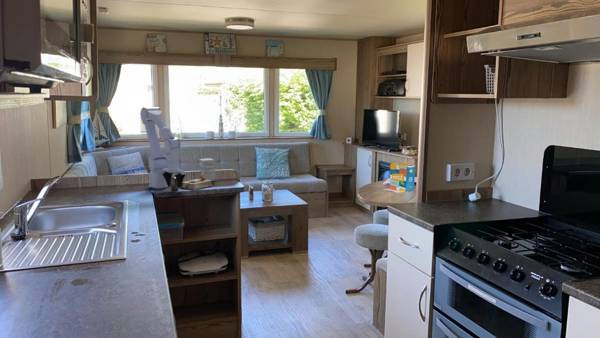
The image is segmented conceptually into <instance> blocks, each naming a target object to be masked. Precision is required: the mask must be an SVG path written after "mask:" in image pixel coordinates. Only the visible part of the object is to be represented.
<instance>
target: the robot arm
mask: <svg viewBox="0 0 600 338" xmlns="http://www.w3.org/2000/svg"><path fill="white" fill-rule="evenodd" d="M139 114H140V118H141V122H142V124H143V125H144V129H145V132H146V136H147V140H148V143H149V149H150V152H151V154H150V156H149V157H148V158H147V161H148V169H149V170H150V172H149V173H148V184H149V185H148V188H153V189H163V188H168V187H171V179H170V178H171V177H173V174H174V177H176V180H177V186H178V189H179V188H182V182H184V179H185V177H186V170H184V169H180V161H179V149H180V148H181V141H180V139H179V138H178V137H176V136H175V135H174V133H173V132H172V130H171V128H170V127H167V126H166V124H165V121H164V120H163V111H162V108H161V107H160V106H154V107H147V106H146V107H144V106H143V107H142V108H141V109H140V113H139ZM156 126H157V128H158V129H159V130H160V131H159V135H160V136H161V138H162V140H163V142H164V144H163V145H164V149H165V153H166V154H165V153H163V152H162V149H161V146H160V142H159V138H158V133H157V129H156Z"/></svg>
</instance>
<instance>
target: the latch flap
mask: <svg viewBox="0 0 600 338" xmlns="http://www.w3.org/2000/svg"><path fill="white" fill-rule="evenodd" d="M196 176H197V177H198V179H202V180H206V179H205V178H204V177H203V176H202V175H200V174H197V175H196Z"/></svg>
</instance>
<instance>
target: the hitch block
mask: <svg viewBox="0 0 600 338" xmlns="http://www.w3.org/2000/svg"><path fill="white" fill-rule="evenodd" d="M212 185H213V184H212V181H211V180H202V179H200V178H195V179H191V180H186V181H183V182H182V187H181V189H186V188H187V189H188V190H195V191H196V190H199V189H204V188H207V187H212Z"/></svg>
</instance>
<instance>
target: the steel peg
mask: <svg viewBox="0 0 600 338" xmlns="http://www.w3.org/2000/svg"><path fill="white" fill-rule="evenodd" d="M170 179H171V186H170V191H171V192H178V191H179V188H178V186H177V180H176V177H175V176H172V177H171V178H170Z"/></svg>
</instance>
